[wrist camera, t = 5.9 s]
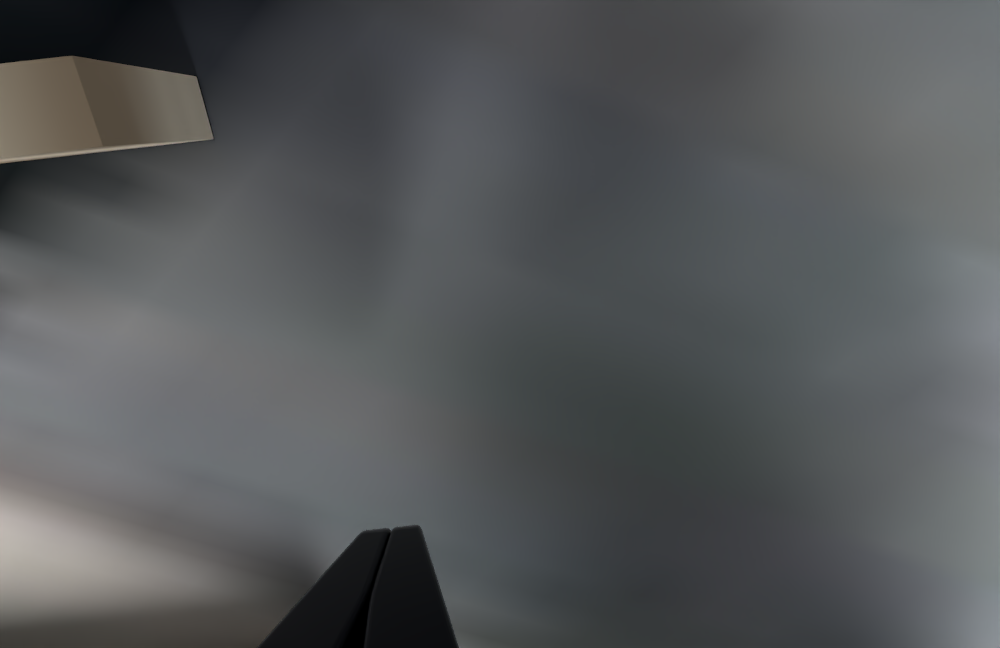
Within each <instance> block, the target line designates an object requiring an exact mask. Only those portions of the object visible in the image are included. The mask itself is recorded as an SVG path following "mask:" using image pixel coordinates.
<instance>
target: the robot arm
mask: <svg viewBox="0 0 1000 648" xmlns="http://www.w3.org/2000/svg"><path fill="white" fill-rule="evenodd" d="M257 648H459V646H458V643H457V640H456V637H455V634H454V630H453V627H452V624H451V621H450V618H449V615H448V611H447V608H446V605H445V602H444V599H443V596H442V592H441V589H440V586H439V583H438V580H437V577H436V573H435V570H434V567H433V564H432V561H431V558H430V554H429V551H428V548H427V545H426V542H425V539H424V535H423V532H422V529H421V527H420V526H418V525H412V526H402V527H395V528H394V529H393V530H392V531H391V530H390V529H388V528H383V529H373V530H366V531H363V532H361V533H360V534H359V535H358V536H357V537H356V538H355V540H354V541H353V542H352V543H351V544H350V545H349V546H348V547H347V548H346V549H345V551H344V552H343V553H342V554H341V555H340V556H339V557H338V558H337V559H336V561H335V562H334V563H333V564H332V565H331V566H330V567H329V568H328V569H327V571H326V572H325V573H324V574H323V575H322V576H321V577H320V578H319V579H318V581H317V582H316V583H315V584H314V585H313V586H312V587H311V588H310V589H309V591H308V592H307V593H306V594H305V595H304V596H303V597H302V598H301V599H300V600H299V602H298V603H297V604H296V605H295V606H294V607H293V608H292V609H291V610H290V612H289V613H288V614H287V615H286V616H285V617H284V618H283V619H282V620H281V622H280V623H279V624H278V625H277V626H276V627H275V628H274V629H273V630H272V632H271V633H270V634H269V635H268V636H267V637H266V638H265V639H264V640H263V641H262V643H261V644H260V645H259V646H258V647H257Z"/></svg>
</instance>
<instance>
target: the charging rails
mask: <svg viewBox="0 0 1000 648" xmlns="http://www.w3.org/2000/svg"><path fill="white" fill-rule="evenodd" d="M212 139H214V138H213V135H212V131H211V127H210V124H209V120H208V116H207V113H206V109H205V106H204V102H203V98H202V95H201V91H200V87H199V84H198V80H197V77H196V76H191V75H185V74H179V73H173V72H167V71H161V70H155V69H149V68H143V67H137V66H131V65H125V64H119V63H113V62H107V61H101V60H95V59H89V58H83V57H77V56H64V57H55V58H46V59H37V60H29V61H20V62H11V63H2V64H0V163H9V162H18V161H27V160H36V159H44V158H53V157H62V156H71V155H80V154H89V153H97V152H106V151H115V150H124V149H133V148H142V147H150V146H159V145H168V144H177V143H186V142H195V141H203V140H212Z"/></svg>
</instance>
